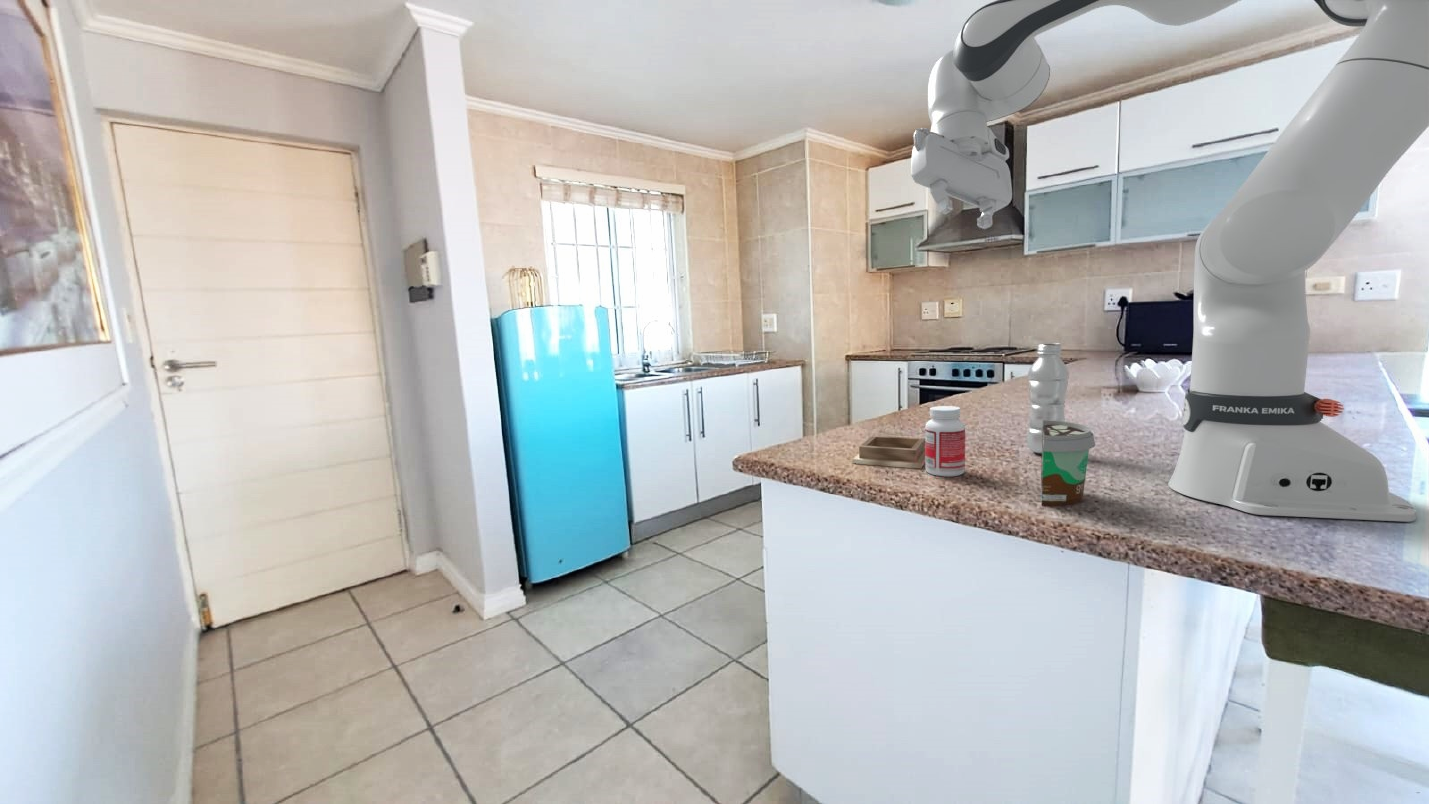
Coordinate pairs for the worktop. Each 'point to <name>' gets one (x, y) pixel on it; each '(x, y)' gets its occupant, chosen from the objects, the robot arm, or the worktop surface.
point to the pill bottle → (945, 442)
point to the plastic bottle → (1046, 392)
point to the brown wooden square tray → (892, 452)
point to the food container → (1064, 462)
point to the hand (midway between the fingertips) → (965, 219)
